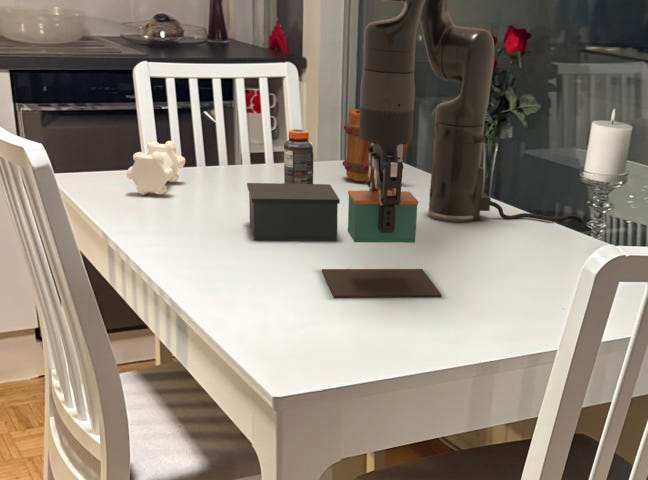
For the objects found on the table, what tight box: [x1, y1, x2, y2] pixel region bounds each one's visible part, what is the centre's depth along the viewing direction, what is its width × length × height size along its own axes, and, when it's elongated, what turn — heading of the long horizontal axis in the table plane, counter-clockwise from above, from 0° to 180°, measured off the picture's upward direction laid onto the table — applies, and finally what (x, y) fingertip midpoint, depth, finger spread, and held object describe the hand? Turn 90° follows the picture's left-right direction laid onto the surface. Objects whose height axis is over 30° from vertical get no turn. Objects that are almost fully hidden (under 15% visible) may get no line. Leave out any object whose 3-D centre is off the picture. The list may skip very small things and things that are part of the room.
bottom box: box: [246, 182, 341, 241], centre depth 168 cm, size 15×12×7 cm
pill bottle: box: [283, 128, 314, 184], centre depth 198 cm, size 6×6×11 cm
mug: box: [342, 108, 410, 183], centre depth 207 cm, size 15×8×15 cm, turn 72°
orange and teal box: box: [347, 190, 419, 244], centre depth 142 cm, size 9×6×6 cm
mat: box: [321, 268, 443, 299], centre depth 147 cm, size 16×13×1 cm
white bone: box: [126, 140, 186, 196], centre depth 190 cm, size 15×9×8 cm, turn 2°
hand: (381, 225), depth 143 cm, fingers closed on orange and teal box, 6 cm apart
